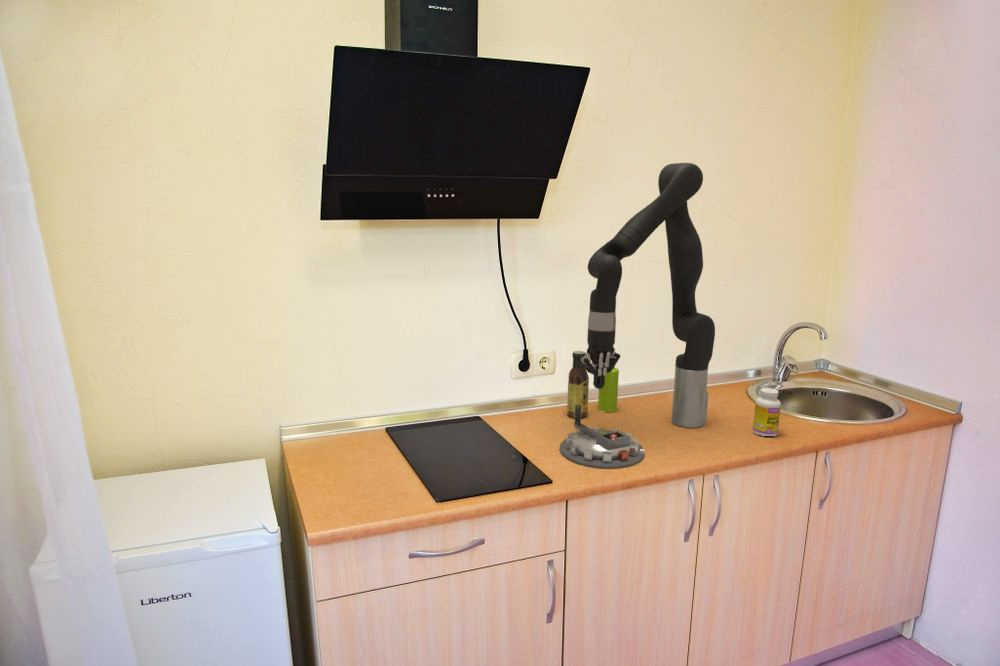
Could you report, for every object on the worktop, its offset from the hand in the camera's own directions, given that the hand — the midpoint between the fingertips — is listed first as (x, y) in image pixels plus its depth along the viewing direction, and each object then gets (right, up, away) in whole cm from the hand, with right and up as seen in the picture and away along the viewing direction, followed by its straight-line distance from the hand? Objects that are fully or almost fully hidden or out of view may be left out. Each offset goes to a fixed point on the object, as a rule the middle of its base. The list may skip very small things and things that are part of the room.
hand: (598, 387), depth 181 cm
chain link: (+2, -14, -14) cm, 19 cm away
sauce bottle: (-4, -10, +18) cm, 21 cm away
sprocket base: (-1, -16, -10) cm, 19 cm away
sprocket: (-1, -15, -9) cm, 17 cm away
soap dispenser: (+6, -9, +23) cm, 25 cm away
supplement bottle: (+48, -14, +4) cm, 50 cm away
